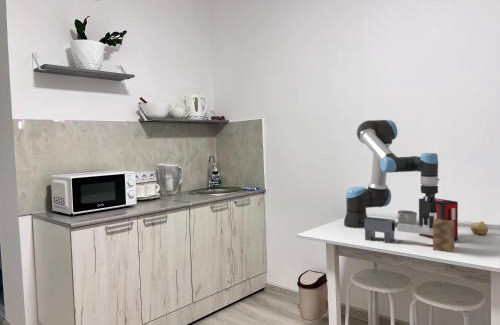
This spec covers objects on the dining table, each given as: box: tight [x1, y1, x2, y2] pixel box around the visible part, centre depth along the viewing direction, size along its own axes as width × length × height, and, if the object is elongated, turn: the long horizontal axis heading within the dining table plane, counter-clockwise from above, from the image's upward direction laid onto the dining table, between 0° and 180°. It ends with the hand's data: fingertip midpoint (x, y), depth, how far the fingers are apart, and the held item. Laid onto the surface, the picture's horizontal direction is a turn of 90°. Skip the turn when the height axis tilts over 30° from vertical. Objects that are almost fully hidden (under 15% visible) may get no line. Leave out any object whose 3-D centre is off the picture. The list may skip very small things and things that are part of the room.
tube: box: [396, 216, 434, 235], centre depth 184 cm, size 21×5×8 cm, turn 53°
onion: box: [470, 221, 489, 236], centre depth 203 cm, size 8×8×7 cm
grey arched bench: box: [363, 216, 396, 244], centre depth 197 cm, size 14×7×11 cm, turn 53°
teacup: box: [396, 209, 418, 225], centre depth 229 cm, size 14×11×8 cm
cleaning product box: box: [418, 197, 459, 242], centre depth 198 cm, size 16×9×20 cm, turn 21°
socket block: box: [432, 219, 455, 253], centre depth 178 cm, size 8×9×13 cm
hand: (429, 228), depth 182 cm, fingers open, 13 cm apart
